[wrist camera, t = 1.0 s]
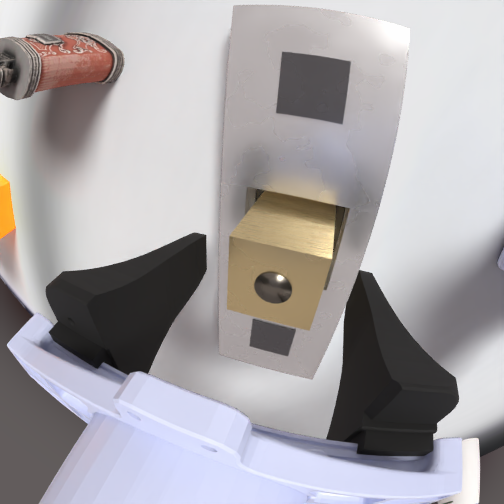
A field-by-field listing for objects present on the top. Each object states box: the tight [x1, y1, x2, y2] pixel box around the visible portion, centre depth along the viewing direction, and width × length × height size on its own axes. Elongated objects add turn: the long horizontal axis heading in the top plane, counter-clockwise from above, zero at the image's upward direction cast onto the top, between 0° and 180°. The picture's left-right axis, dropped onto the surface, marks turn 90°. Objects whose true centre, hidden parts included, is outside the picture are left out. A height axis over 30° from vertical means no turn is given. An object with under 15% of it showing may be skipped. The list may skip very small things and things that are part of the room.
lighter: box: [0, 33, 124, 100], centre depth 9 cm, size 8×3×10 cm, turn 57°
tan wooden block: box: [227, 190, 336, 331], centre depth 14 cm, size 4×4×6 cm
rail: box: [219, 5, 410, 379], centre depth 15 cm, size 8×24×2 cm, turn 175°
